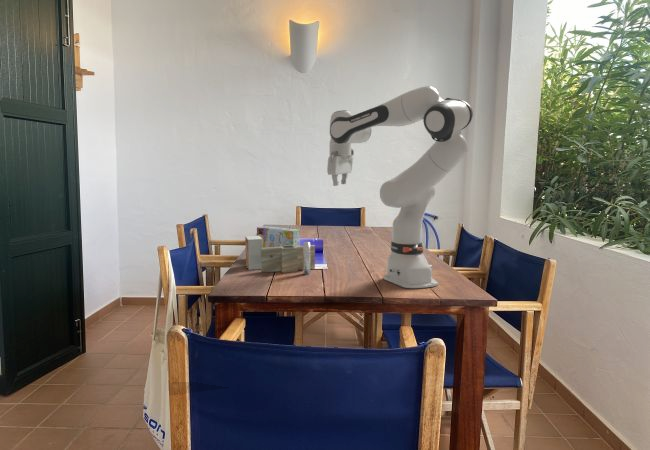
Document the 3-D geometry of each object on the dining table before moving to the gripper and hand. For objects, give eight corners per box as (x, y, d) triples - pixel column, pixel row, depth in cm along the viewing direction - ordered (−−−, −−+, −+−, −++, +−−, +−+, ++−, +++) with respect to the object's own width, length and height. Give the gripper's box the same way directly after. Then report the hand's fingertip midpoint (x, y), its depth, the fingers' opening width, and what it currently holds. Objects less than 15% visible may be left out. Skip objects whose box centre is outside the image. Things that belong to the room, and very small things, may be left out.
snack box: (300, 262, 214) (300, 229, 212) (293, 265, 210) (292, 230, 207) (264, 256, 226) (263, 225, 224) (256, 259, 221) (255, 226, 219)
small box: (245, 265, 208) (245, 236, 206) (260, 264, 210) (259, 235, 208) (248, 270, 200) (247, 239, 198) (263, 269, 202) (262, 238, 200)
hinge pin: (311, 274, 193) (310, 242, 191) (304, 275, 192) (304, 243, 190) (309, 272, 196) (309, 241, 194) (302, 273, 195) (302, 241, 193)
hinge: (316, 270, 200) (316, 246, 198) (262, 273, 194) (262, 249, 192) (312, 266, 206) (312, 243, 204) (260, 270, 200) (260, 246, 198)
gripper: (338, 151, 186) (338, 187, 189) (355, 151, 205) (354, 183, 207) (323, 151, 189) (323, 186, 191) (341, 151, 207) (341, 183, 210)
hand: (339, 184), depth 199 cm, fingers open, 8 cm apart
